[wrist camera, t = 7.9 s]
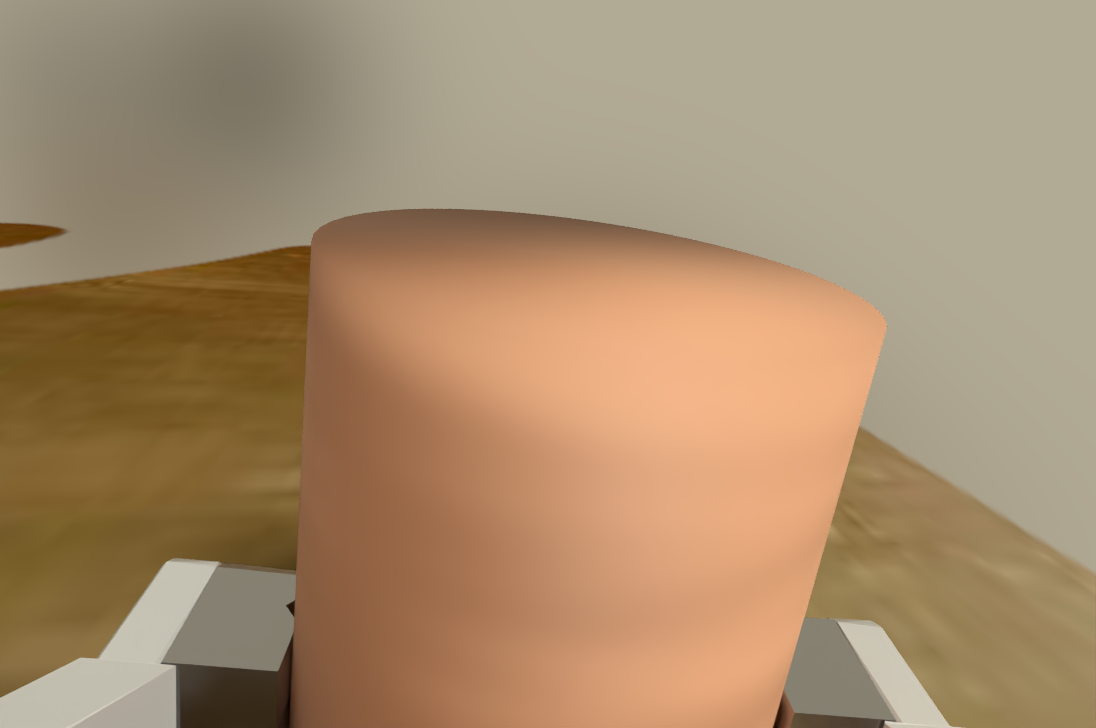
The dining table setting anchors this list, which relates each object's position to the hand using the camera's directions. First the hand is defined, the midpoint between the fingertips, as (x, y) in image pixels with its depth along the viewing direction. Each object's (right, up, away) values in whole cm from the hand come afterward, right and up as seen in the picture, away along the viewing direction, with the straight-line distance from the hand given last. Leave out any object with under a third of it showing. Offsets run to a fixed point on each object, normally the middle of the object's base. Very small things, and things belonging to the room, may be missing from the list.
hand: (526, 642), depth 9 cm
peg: (-1, -5, +1) cm, 6 cm away
